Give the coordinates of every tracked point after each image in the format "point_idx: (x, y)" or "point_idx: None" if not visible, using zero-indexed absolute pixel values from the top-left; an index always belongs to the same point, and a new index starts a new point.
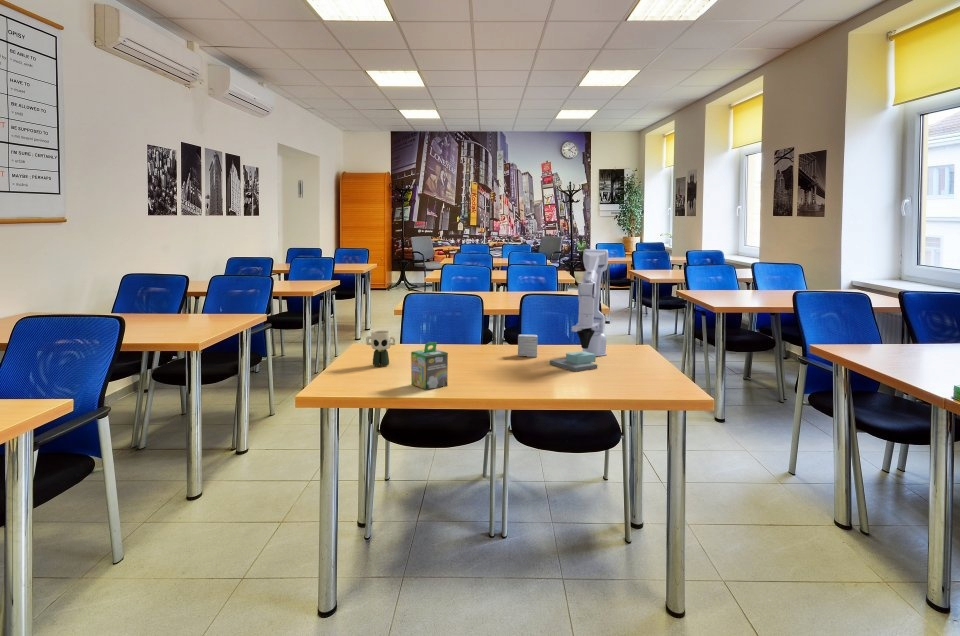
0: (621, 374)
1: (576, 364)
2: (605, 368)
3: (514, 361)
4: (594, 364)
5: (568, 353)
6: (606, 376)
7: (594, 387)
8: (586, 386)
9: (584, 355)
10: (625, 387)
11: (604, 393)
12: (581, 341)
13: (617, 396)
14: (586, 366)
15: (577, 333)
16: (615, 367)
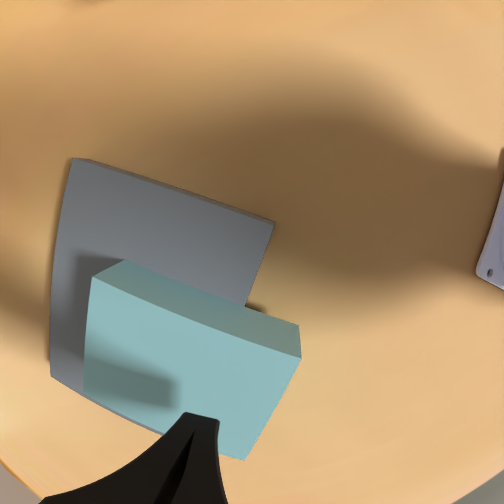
0: None
1: None
2: None
3: (54, 5)
4: None
5: (102, 297)
6: (112, 470)
7: (15, 443)
8: (3, 427)
9: (142, 419)
10: None
11: (12, 459)
12: (156, 457)
13: (23, 477)
14: (114, 412)
15: (63, 495)
16: (286, 474)
